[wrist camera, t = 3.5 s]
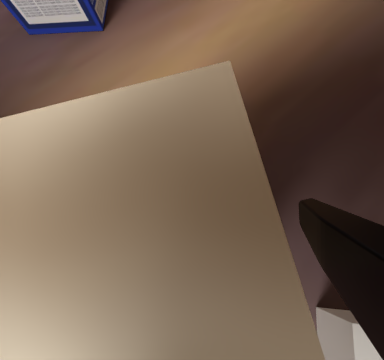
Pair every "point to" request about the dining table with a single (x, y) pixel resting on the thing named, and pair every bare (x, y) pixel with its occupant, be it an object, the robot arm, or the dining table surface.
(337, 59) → the dining table surface
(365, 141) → the dining table surface
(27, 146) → the birch block
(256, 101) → the dining table surface
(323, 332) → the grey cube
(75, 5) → the milk carton
